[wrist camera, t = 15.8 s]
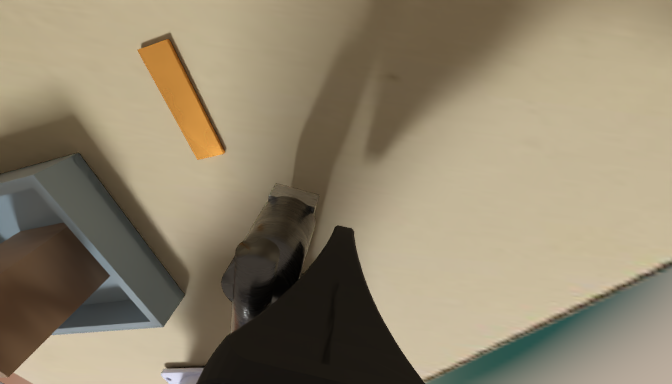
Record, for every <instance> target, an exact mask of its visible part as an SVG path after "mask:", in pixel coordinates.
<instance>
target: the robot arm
mask: <svg viewBox="0 0 672 384" xmlns="http://www.w3.org/2000/svg"><path fill="white" fill-rule="evenodd" d="M161 376H162V377H163V378H164V379H165V380H166V381H167V382H168V383H169V384H425V383H424V382H423V380H422V379H421V378H420V376H419V375H418V374H417V372H416V371H415V370H414V368H413V367H412V365H411V364H410V363H409V361H408V360H407V358H406V357H405V355H404V354H403V352H402V351H401V349H400V348H399V346H398V345H397V343H396V341H395V340H394V338H393V336H392V335H391V333H390V331H389V329H388V328H387V326H386V324H385V323H384V321H383V319H382V317H381V315H380V313H379V311H378V309H377V307H376V305H375V303H374V300H373V298H372V296H371V294H370V291H369V289H368V286H367V283H366V281H365V278H364V275H363V272H362V269H361V265H360V262H359V258H358V254H357V250H356V245H355V239H354V231H353V229H352V228H347V227H343V226H338V225H337V226H336V227H335V228H334V231H333V233H332V235H331V237H330V239H329V241H328V243H327V244H326V246H325V247H324V249H323V250H322V252H321V253H320V254H319V256H318V257H317V259H316V260H315V261H314V262H313V264H312V265H311V266H310V267H309V268H308V270H307V271H306V272H305V273H304V274H303V275H302V276H301V277H300V279H299V280H298V281H297V282H296V283H295V284H294V285H293V286H292V287H291V288H290V289H289V290H287V291H286V292H285V293H284V294H283V295H282V296H281V297H280V298H279V299H277V300H276V301H275V302H274V303H273V304H272V305H270V306H269V307H268V308H266V309H265V310H264V311H262V312H261V313H260V314H259V315H257V316H256V317H255V318H253V319H252V320H250V321H249V322H247V323H246V324H244V325H243V326H241V327H240V328H238V329H237V330H235V331H234V332H232V333H231V334H229V335H228V336H226V338H225V339H224V340H223V341H222V343H221V344H220V345H219V346H218V348H217V349H216V350H215V352H214V353H213V355H212V356H211V358H210V359H209V361H208V362H207V364H206V365H205V367H204V368H171V369H163V370H162V372H161ZM0 384H3V383H2V382H0Z"/></svg>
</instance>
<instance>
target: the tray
mask: <svg viewBox="0 0 672 384" xmlns="http://www.w3.org/2000/svg"><path fill="white" fill-rule="evenodd" d="M63 222H64V223H65V224H66V226H67V227H68V228H69V229H70V230H71V231H72V232H73V234H74V235H75V236H76V237H77V238H78V239H79V240H80V242H81V243H82V244H83V245H84V246H85V247H86V248H87V250H88V251H89V252H90V253H91V254H92V255H93V256H94V258H95V259H96V260H97V261H98V262H99V263H100V264H101V266H102V267H103V268H104V269H105V270H106V271H107V272H108V274H109V275H110V277H109V278H108V279H107V280H106V281H105V282H104V283H103V284H102V285H101V286H100V287H99V288H98V289H97V290H96V291H95V292H94V293H93V294H92V295H91V296H90V297H89V298H88V299H87V300H86V301H85V302H84V303H83V304H82V305H81V306H80V307H79V308H78V309H77V310H76V311H75V312H74V313H73V314H72V315H71V316H70V317H69V318H68V319H67V320H66V321H65V322H64V323H63V324H61V325H60V326H59V327H58V328H57V329H56V330H55V331H54V332H53V333H52V334H51V335H59V334H73V333H87V332H101V331H115V330H129V329H143V328H157V327H164V325H165V324H166V322H167V321H168V320H169V318H170V317H171V315H172V314H173V312H174V311H175V309H176V308H177V306H178V305H179V303H180V302H181V301H182V299H183V298H184V296H185V295H184V294H183V292H182V291H181V290H180V288H179V287H178V286H177V284H176V283H175V282H174V280H173V279H172V277H171V276H170V275H169V273H168V272H167V271H166V269H165V268H164V267H163V265H162V264H161V263H160V261H159V260H158V259H157V257H156V256H155V255H154V253H153V252H152V251H151V249H150V248H149V247H148V245H147V244H146V243H145V241H144V240H143V239H142V237H141V236H140V235H139V233H138V232H137V231H136V229H135V228H134V227H133V225H132V224H131V223H130V221H129V220H128V218H127V217H126V216H125V214H124V213H123V212H122V210H121V209H120V208H119V206H118V205H117V204H116V202H115V201H114V200H113V198H112V197H111V196H110V194H109V193H108V192H107V190H106V189H105V188H104V186H103V185H102V184H101V182H100V181H99V180H98V178H97V177H96V176H95V174H94V173H93V172H92V170H91V169H90V168H89V166H88V165H87V164H86V162H85V161H84V160H83V158H82V157H81V155H80V154H79V153H76V154H72V155H68V156H65V157H61V158H57V159H54V160H50V161H46V162H43V163H39V164H35V165H32V166H28V167H24V168H21V169H17V170H13V171H10V172H6V173H2V174H0V244H1V243H2V242H4V241H5V240H7V239H9V238H10V237H12V236H13V235H15V234H17V233H18V232H20V231H24V230H29V229H34V228H39V227H44V226H49V225H54V224H58V223H63Z"/></svg>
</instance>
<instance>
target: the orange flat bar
mask: <svg viewBox="0 0 672 384" xmlns="http://www.w3.org/2000/svg"><path fill="white" fill-rule="evenodd" d="M138 52H139V54H140V56H141V58H142V60H143V61H144V63H145V65H146V67H147V69H148V70H149V72H150V74H151V76H152V78H153V80H154V81H155V83H156V85H157V87H158V89H159V91H160V92H161V94H162V96H163V98H164V100H165V101H166V103H167V105H168V107H169V109H170V111H171V112H172V114H173V116H174V118H175V120H176V121H177V123H178V125H179V127H180V129H181V131H182V132H183V134H184V136H185V138H186V140H187V142H188V143H189V145H190V147H191V149H192V151H193V152H194V154H195V156H196V158H197V160H199V159H203V158H208V157H212V156H216V155H220V154H224V153H225V151H224V149H223V147H222V145H221V143H220V141H219V139H218V137H217V135H216V133H215V131H214V129H213V127H212V125H211V123H210V121H209V119H208V116H207V114H206V112H205V110H204V108H203V106H202V104H201V102H200V100H199V98H198V96H197V94H196V92H195V90H194V88H193V86H192V84H191V82H190V80H189V78H188V76H187V74H186V72H185V70H184V68H183V66H182V64H181V62H180V60H179V58H178V56H177V54H176V52H175V50H174V48H173V46H172V44H171V42H170V40H169V39H166V40H163V41H161V42H158V43H155V44H152V45H150V46H147V47H144V48H141V49H139V50H138ZM302 275H303V274H302V273H301V274H300V277H301V276H302ZM299 279H300V278H299Z"/></svg>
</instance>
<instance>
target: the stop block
mask: <svg viewBox="0 0 672 384" xmlns="http://www.w3.org/2000/svg"><path fill="white" fill-rule="evenodd" d="M109 277H110V275H109V274H108V272H107V271H106V270H105V269H104V268H103V267H102V266H101V264H100V263H99V262H98V261H97V260H96V259H95V258H94V256H93V255H92V254H91V253H90V252H89V251H88V250H87V248H86V247H85V246H84V245H83V244H82V243H81V242H80V240H79V239H78V238H77V237H76V236H75V235H74V234H73V232H72V231H71V230H70V229H69V228H68V227H67V226H66V224H65V223H64V222H63V223H58V224H54V225H49V226H44V227H39V228H34V229H29V230H24V231H20V232H18V233H17V234H15V235H13V236H12V237H10V238H9V239H7V240H5V241H4V242H2V243H1V244H0V377H9V376H10V375H11V374H12V373H13V372H14V371H15V370H16V369H17V368H18V367H19V366H20V365H21V364H22V363H23V362H24V361H25V360H26V359H27V358H28V357H29V356H30V355H31V354H32V353H33V352H34V351H35V350H36V349H37V348H38V347H39V346H40V345H41V344H42V343H43V342H44V341H45V340H46V339H47V338H48V337H49V336H50V335H51V334H52V333H53V332H54V331H55V330H56V329H57V328H58V327H59V326H60V325H61V324H63V323H64V322H65V321H66V320H67V319H68V318H69V317H70V316H71V315H72V314H73V313H74V312H75V311H76V310H77V309H78V308H79V307H80V306H81V305H82V304H83V303H84V302H85V301H86V300H87V299H88V298H89V297H90V296H91V295H92V294H93V293H94V292H95V291H96V290H97V289H98V288H99V287H100V286H101V285H102V284H103V283H104V282H105V281H106V280H107V279H108V278H109Z"/></svg>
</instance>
